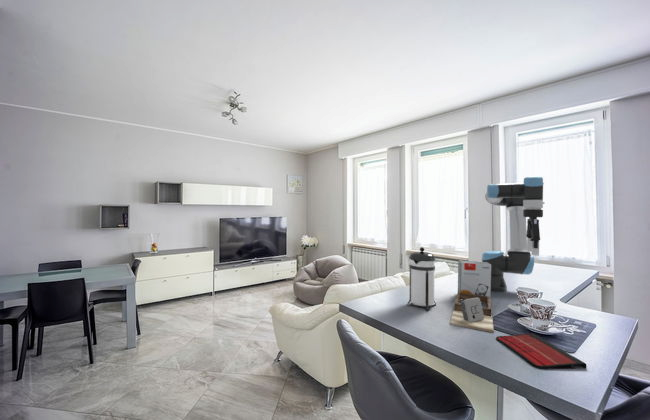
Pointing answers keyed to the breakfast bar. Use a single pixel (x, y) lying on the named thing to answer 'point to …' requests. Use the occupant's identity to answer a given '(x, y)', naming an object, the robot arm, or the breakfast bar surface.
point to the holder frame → (468, 296)
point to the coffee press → (422, 279)
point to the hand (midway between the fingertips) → (532, 253)
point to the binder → (539, 352)
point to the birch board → (479, 325)
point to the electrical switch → (472, 309)
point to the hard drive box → (474, 278)
